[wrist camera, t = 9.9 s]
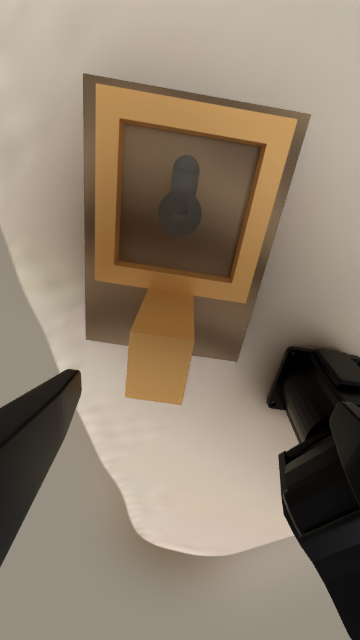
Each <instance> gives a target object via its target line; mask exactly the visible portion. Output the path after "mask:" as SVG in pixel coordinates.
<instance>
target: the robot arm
mask: <svg viewBox="0 0 360 640" xmlns="http://www.w3.org/2000/svg"><path fill="white" fill-rule="evenodd" d="M293 352H295V353H294V354H293V355H291V353H293ZM357 362H358V363H357ZM356 363H357V364H356ZM81 391H82V387H81V373H80V371H79V370H73V369H67V370H65V371H63V372H61V373H60V374H58V375H56V376H55V377H53V378H51V379H49V380H48V381H46V382H44V383H43V384H41V385H39V386H37V387H36V388H34V389H32V390H31V391H29V392H27V393H25V394H24V395H22V396H20V397H18V398H17V399H15V400H13V401H12V402H10V403H8V404H6V405H5V406H3V407H2V408H0V567H1V565H2V563H3V561H4V559H5V557H6V555H7V553H8V551H9V549H10V547H11V545H12V543H13V541H14V539H15V537H16V535H17V533H18V531H19V529H20V527H21V525H22V523H23V521H24V519H25V517H26V515H27V513H28V511H29V509H30V507H31V505H32V503H33V501H34V499H35V497H36V495H37V493H38V491H39V489H40V487H41V485H42V483H43V481H44V479H45V477H46V475H47V473H48V470H49V469H50V467H51V465H52V462H53V461H54V459H55V457H56V455H57V453H58V451H59V448H60V447H61V445H62V442H63V440H64V438H65V436H66V434H67V431H68V428H69V426H70V423H71V420H72V417H73V415H74V412H75V409H76V407H77V404H78V401H79V398H80V396H81ZM272 402H274V403H272ZM267 404H268V407H269V408H273V409H280V410H285V411H286V413H287V416H288V418H289V420H290V423H291V425H292V427H293V430H294V432H295V435H296V437H297V439H298V442H299V444H298V445H297V446H295V447H293V448H292V449H290V450H288V451H287V452H286V451H284V452H282V453H281V454H279V455H278V456H279V470H280V483H281V497H282V505H283V512H284V516H285V518H286V519H287V521H288V523H289V526H290V528H291V530H292V532H293V534H294V535H295V537H296V539H297V540H298V542H299V544H300V545H301V547H302V548H303V550H304V551H305V553H306V554H307V555H308V557H309V558H310V560H311V561H312V562H313V564H314V566H315V568H316V570H317V571H318V573H319V575H320V577H321V578H322V580H323V582H324V584H325V586H326V588H327V590H328V592H329V594H330V596H331V598H332V600H333V602H334V604H335V606H336V609H337V611H338V613H339V615H340V617H341V620H342V622H343V624H344V626H345V628H346V630H347V632H348V634H349V636H350V638H351V639H352V640H360V357H356V356H350V355H347V354H346V353H340V352H334V351H327V350H320V349H317V350H310V349H303V348H296V347H291V348H289V349H287V351H286V353H285V356H284V358H283V361H282V363H281V366H280V368H279V371H278V373H277V376H276V378H275V381H274V384H273V386H272V389H271V391H270V394H269V396H268V399H267Z"/></svg>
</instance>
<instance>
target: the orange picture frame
mask: <svg viewBox="0 0 360 640" xmlns="http://www.w3.org/2000/svg"><path fill="white" fill-rule="evenodd" d="M297 120H298V119H294V118H288V117H282V116H277V115H271V114H266V113H260V112H254V111H249V110H243V109H238V108H232V107H226V106H221V105H215V104H210V103H204V102H198V101H193V100H187V99H182V98H176V97H170V96H165V95H159V94H154V93H148V92H142V91H137V90H131V89H126V88H120V87H114V86H109V85H103V84H98V83H96V135H95V280H96V281H102V282H109V283H115V284H122V285H128V286H135V287H141V288H148V290H147V293H146V295H145V297H144V300H143V302H142V304H141V307H140V309H139V311H138V314H137V316H136V318H135V321H134V323H133V325H132V328H131V330H130V338H129V351H128V365H127V378H126V392H125V397H127V398H134V399H141V400H149V401H156V402H163V403H170V404H177V405H182V400H183V396H184V391H185V386H186V381H187V376H188V371H189V366H190V361H191V356H192V351H193V346H194V341H195V337H194V296H200V297H206V298H213V299H219V300H226V301H232V302H239V303H245V304H246V301H247V297H248V294H249V290H250V286H251V283H252V279H253V276H254V272H255V269H256V265H257V262H258V258H259V255H260V251H261V248H262V244H263V241H264V237H265V233H266V230H267V226H268V223H269V219H270V216H271V212H272V209H273V205H274V202H275V198H276V195H277V191H278V188H279V184H280V180H281V177H282V173H283V170H284V166H285V163H286V159H287V156H288V152H289V149H290V145H291V142H292V138H293V135H294V131H295V127H296V124H297ZM125 123H127V124H132V125H138V126H144V127H150V128H155V129H161V130H167V131H173V132H178V133H184V134H190V135H196V136H201V137H207V138H213V139H219V140H224V141H230V142H236V143H241V144H247V145H253V146H259V147H261V151H260V155H259V159H258V163H257V167H256V171H255V176H254V180H253V184H252V188H251V192H250V196H249V200H248V204H247V209H246V213H245V217H244V221H243V225H242V229H241V233H240V237H239V242H238V246H237V250H236V254H235V258H234V262H233V266H232V270H231V275H230V278H227V277H220V276H214V275H208V274H201V273H195V272H188V271H182V270H176V269H169V268H163V267H157V266H150V265H144V264H137V263H131V262H125V261H118V260H119V238H120V216H121V194H122V172H123V150H124V128H125Z"/></svg>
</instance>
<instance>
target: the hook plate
mask: <svg viewBox="0 0 360 640" xmlns="http://www.w3.org/2000/svg"><path fill="white" fill-rule="evenodd" d="M96 83H98V84H103V85H109V86H114V87H120V88H126V89H131V90H137V91H142V92H148V93H154V94H159V95H165V96H170V97H176V98H182V99H187V100H193V101H198V102H204V103H210V104H215V105H221V106H226V107H232V108H238V109H243V110H249V111H254V112H260V113H266V114H271V115H277V116H282V117H288V118H294V119H298V120H297V124H296V127H295V131H294V135H293V138H292V142H291V145H290V149H289V152H288V156H287V159H286V163H285V166H284V170H283V173H282V177H281V180H280V184H279V188H278V191H277V195H276V198H275V202H274V205H273V209H272V212H271V216H270V219H269V223H268V226H267V230H266V233H265V237H264V241H263V244H262V248H261V251H260V255H259V258H258V262H257V265H256V269H255V272H254V276H253V279H252V283H251V286H250V290H249V294H248V297H247V301H246V304H245V303H239V302H232V301H226V300H219V299H213V298H206V297H200V296H194V337H195V341H194V346H193V351H192V355H195V356H201V357H208V358H215V359H222V360H229V361H235V362H237V360H238V357H239V353H240V350H241V347H242V343H243V340H244V337H245V333H246V330H247V327H248V323H249V320H250V317H251V313H252V310H253V307H254V303H255V300H256V297H257V293H258V290H259V287H260V283H261V280H262V277H263V273H264V270H265V267H266V263H267V260H268V257H269V253H270V250H271V247H272V243H273V240H274V237H275V233H276V230H277V227H278V223H279V220H280V217H281V213H282V210H283V207H284V203H285V200H286V197H287V193H288V190H289V187H290V183H291V180H292V177H293V173H294V170H295V166H296V163H297V160H298V156H299V153H300V150H301V146H302V143H303V140H304V136H305V133H306V130H307V126H308V123H309V120H310V116H311V114H306V113H300V112H295V111H289V110H284V109H278V108H272V107H267V106H261V105H256V104H250V103H245V102H239V101H234V100H228V99H223V98H217V97H211V96H206V95H200V94H195V93H189V92H184V91H178V90H173V89H167V88H162V87H156V86H150V85H145V84H139V83H134V82H128V81H123V80H117V79H112V78H106V77H101V76H95V75H89V74H84V73H83V116H84V210H85V304H86V340H92V341H99V342H106V343H113V344H120V345H126V346H129V338H130V330H131V328H132V325H133V323H134V321H135V318H136V316H137V314H138V311H139V309H140V307H141V304H142V302H143V300H144V297H145V295H146V293H147V290H148V288H141V287H135V286H128V285H122V284H115V283H109V282H102V281H96V280H95V135H96ZM260 151H261V147H259V146H253V145H247V144H241V143H236V142H230V141H224V140H219V139H213V138H207V137H201V136H196V135H190V134H184V133H178V132H173V131H167V130H161V129H155V128H150V127H144V126H138V125H132V124H127V123H125V128H124V150H123V172H122V194H121V216H120V238H119V260H118V261H125V262H131V263H137V264H144V265H150V266H157V267H163V268H169V269H176V270H182V271H188V272H195V273H201V274H208V275H214V276H220V277H227V278H230V275H231V270H232V266H233V262H234V258H235V254H236V250H237V246H238V242H239V237H240V233H241V229H242V225H243V221H244V217H245V213H246V209H247V204H248V200H249V196H250V192H251V188H252V184H253V180H254V176H255V171H256V167H257V163H258V159H259V155H260Z"/></svg>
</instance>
